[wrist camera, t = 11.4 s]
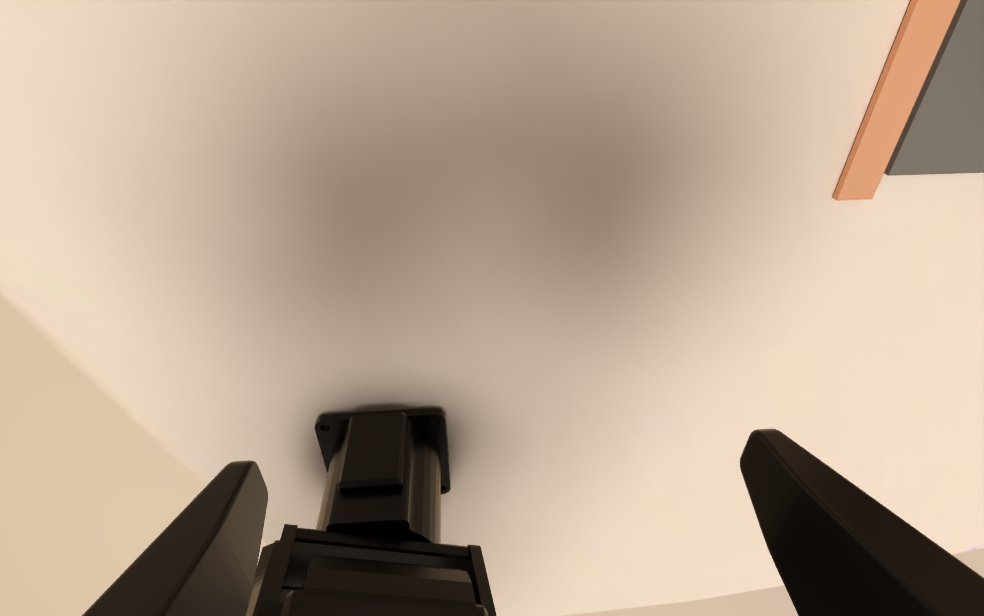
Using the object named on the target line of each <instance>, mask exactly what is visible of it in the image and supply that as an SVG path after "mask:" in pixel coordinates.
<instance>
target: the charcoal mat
mask: <svg viewBox="0 0 984 616" xmlns="http://www.w3.org/2000/svg"><path fill="white" fill-rule="evenodd" d="M884 173H885V174H887V175H919V174H952V173H984V0H960V3H959V5H958V7H957V9H956V12H955V14H954V16H953V18H952V21H951V23H950V25H949V27H948V30H947V32H946V34H945V36H944V39H943V41H942V43H941V45H940V48H939V50H938V52H937V54H936V57H935V59H934V61H933V63H932V66H931V68H930V70H929V72H928V75H927V77H926V79H925V81H924V84H923V86H922V88H921V90H920V93H919V95H918V97H917V99H916V102H915V104H914V106H913V108H912V111H911V113H910V115H909V117H908V119H907V122H906V124H905V126H904V128H903V131H902V133H901V135H900V137H899V140H898V142H897V144H896V146H895V149H894V151H893V153H892V155H891V158H890V160H889V162H888V164H887V167H886V169H885V171H884Z"/></svg>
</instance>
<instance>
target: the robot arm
mask: <svg viewBox="0 0 984 616" xmlns="http://www.w3.org/2000/svg"><path fill="white" fill-rule="evenodd" d="M433 418H438V419H433ZM324 424H326V425H324ZM315 431H316V434H317V438H318V441H319V445H320V448H321V452H322V455H323V459H324V462H325V466H326V469H327V473H328V476H327V481H326V485H325V490H324V495H323V500H322V504H321V509H320V514H319V518H318V523H317V528H316V530H313V529H304V528H297V527H298V525H289V524H285V525H284V529H283V532H282V535H281V539H280V541H279V540H277V541H275V542H274V543H273V544H270V545H267V546H265V547H263V549H262V552H261V555H260V559H259V562H258V557H259V551H260V545H261V538H262V532H263V526H264V520H265V514H266V508H267V502H268V492H267V487H266V485H265V482H264V480H263V477H262V475H261V472H260V470H259V467H258V465H257V463H256V462H254V461H235V462H231V463H229V464H228V465H226V466H225V467H224V468H223V469H222V470H221V472H220V473H219V474H218V475H217V476H216V477H215V478H214V479H213V480H212V481H211V482H210V483H209V484H208V485H207V486H206V487H205V488H204V489H203V490H202V491H201V492H200V493H199V494H198V495H197V497H196V498H195V499H194V500H193V501H192V502H191V503H190V504H189V505H188V506H187V507H186V508H185V509H184V510H183V511H182V512H181V513H180V514H179V515H178V516H177V517H176V519H174V520H173V522H172V523H171V524H170V525H169V526H168V527H167V528H166V529H165V530H164V531H163V532H162V533H161V534H160V535H159V536H158V537H157V538H156V539H155V540H154V541H153V542H152V543H151V544H150V546H149V547H148V548H147V549H146V550H145V551H144V552H143V553H142V554H141V555H140V556H139V557H138V558H137V559H136V560H135V561H134V562H133V563H132V564H131V565H130V566H129V567H128V568H127V569H126V570H125V572H124V573H123V574H122V575H121V576H120V577H119V578H118V579H117V580H116V581H115V582H114V583H113V584H112V585H111V586H110V587H109V588H108V589H107V590H106V591H105V592H104V593H103V594H102V595H101V596H100V598H99V599H98V600H97V601H96V602H95V603H94V604H93V605H92V606H91V607H90V608H89V609H88V610H87V611H86V612H85V613H84V614H83V615H82V616H496V612H495V607H494V603H493V599H492V594H491V590H490V586H489V581H488V577H487V573H486V569H485V564H484V560H483V556H482V551H481V547H480V546H477V545H468V546H458V545H449V544H440V516H441V494H445V493H447V492H449V491H450V470H449V457H448V443H447V429H446V416H445V412H444V411H442V410H440V409H419V410H402V411H384V412H367V413H349V414H332V415H322V416H319V417H318V418H317V420H316V423H315ZM740 468H741V472H742V475H743V478H744V481H745V484H746V487H747V490H748V493H749V495H750V498H751V501H752V504H753V507H754V510H755V513H756V516H757V519H758V522H759V525H760V528H761V530H762V533H763V536H764V539H765V542H766V544H767V547H768V549H769V552H770V554H771V556H772V559H773V561H774V563H775V565H776V568H777V570H778V572H779V574H780V576H781V578H782V581H783V583H784V585H785V587H786V589H787V591H788V593H789V596H790V598H791V600H792V602H793V604H794V607H795V609H796V611H797V613H798V615H799V616H984V578H983V577H982V576H980V575H979V574H978V573H976V572H975V571H973V570H972V569H971V568H969V567H968V566H966V565H965V564H964V563H962V562H961V561H960V560H958V559H957V558H955V557H954V556H953V555H951V554H950V553H948V552H947V551H946V550H944V549H943V548H941V547H940V546H939V545H937V544H936V543H935V542H933V541H932V540H930V539H929V538H928V537H926V536H925V535H923V534H922V533H921V532H919V531H918V530H916V529H915V528H914V527H912V526H911V525H910V524H908V523H907V522H905V521H904V520H903V519H901V518H900V517H898V516H897V515H896V514H894V513H893V512H891V511H890V510H889V509H887V508H886V507H885V506H883V505H882V504H880V503H879V502H878V501H876V500H875V499H873V498H872V497H871V496H869V495H868V494H866V493H865V492H864V491H862V490H861V489H859V488H858V487H857V486H855V485H854V484H853V483H851V482H850V481H848V480H847V479H846V478H844V477H843V476H841V475H840V474H839V473H837V472H836V471H834V470H833V469H832V468H830V467H829V466H828V465H826V464H825V463H823V462H822V461H821V460H819V459H818V458H816V457H815V456H814V455H812V454H811V453H809V452H808V451H807V450H805V449H804V448H803V447H801V446H800V445H798V444H797V443H796V442H794V441H793V440H791V439H790V438H789V437H787V436H786V435H784V434H783V433H782V432H780V431H778V430H776V429H760V430H754V431H753V432H752V433H751V434H750V436H749V439H748V441H747V443H746V446H745V448H744V450H743V453H742V455H741V458H740ZM257 562H258V566H257Z"/></svg>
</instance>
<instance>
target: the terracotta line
mask: <svg viewBox="0 0 984 616" xmlns="http://www.w3.org/2000/svg"><path fill="white" fill-rule="evenodd" d="M959 3H960V0H911V2H910V4H909V7H908V9H907V12H906V14H905V17H904V19H903V22H902V24H901V27H900V29H899V32H898V34H897V37H896V39H895V42H894V44H893V47H892V49H891V52H890V54H889V57H888V59H887V62H886V64H885V67H884V69H883V72H882V74H881V77H880V79H879V82H878V85H877V87H876V90H875V92H874V95H873V97H872V100H871V102H870V105H869V107H868V110H867V112H866V115H865V117H864V120H863V122H862V125H861V127H860V130H859V132H858V135H857V137H856V140H855V142H854V145H853V147H852V150H851V152H850V155H849V157H848V160H847V162H846V165H845V167H844V170H843V172H842V175H841V177H840V180H839V183H838V185H837V188H836V190H835V193H834V195H833V198H834V199H836V200H861V199H872V198H873V196H874V194H875V191H876V189H877V187H878V185H879V182H880V180H881V178H882V176H883V173H884V171H885V169H886V167H887V164H888V162H889V160H890V158H891V155H892V153H893V151H894V149H895V146H896V144H897V142H898V140H899V137H900V135H901V133H902V131H903V128H904V126H905V124H906V122H907V119H908V117H909V115H910V113H911V111H912V108H913V106H914V104H915V102H916V99H917V97H918V95H919V93H920V90H921V88H922V86H923V84H924V81H925V79H926V77H927V75H928V72H929V70H930V68H931V66H932V63H933V61H934V59H935V57H936V54H937V52H938V50H939V48H940V45H941V43H942V41H943V39H944V36H945V34H946V32H947V30H948V27H949V25H950V23H951V21H952V18H953V16H954V14H955V12H956V9H957V7H958V5H959Z"/></svg>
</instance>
